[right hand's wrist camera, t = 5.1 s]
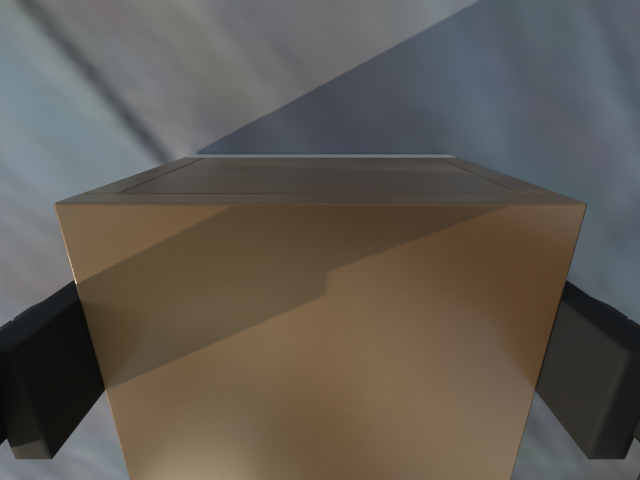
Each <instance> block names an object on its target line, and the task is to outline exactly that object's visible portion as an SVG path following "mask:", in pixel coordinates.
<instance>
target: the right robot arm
mask: <svg viewBox="0 0 640 480" xmlns="http://www.w3.org/2000/svg"><path fill="white" fill-rule="evenodd" d="M104 391H105V388H104V384H103V381H102V377H101V374H100V370H99V367H98V363H97V359H96V356H95V352H94V349H93V345H92V341H91V338H90V334H89V331H88V327H87V323H86V320H85V316H84V313H83V309H82V305H81V302H80V298H79V295H78V291H77V287H76V284H75V280H73V281H72V282H71V283H69V284H68V285H66V286H65V287H63V288H62V289H60V290H59V291H57V292H56V293H55V294H53V295H52V296H50V297H49V298H47V299H46V300H44V301H43V302H40V303H38V304H36V305H34V306H31V307H30V308H28V309H27V310H25V311H24V312H22V313H21V314H19V315H18V316H16V317H15V318H13V321H9V322H7V323H6V324H5V325H3V326H2V327H0V445H1V444H2V443H3V442H4V441H5V440H6V439H7V440H8V442H9V444H10V447H11V449H12V451H13V454H14V456H15V458H16V459H52V458H53V457H54V456H55V454H56V453H57V452H58V451H59V449H60V448H61V447H62V445H63V444H64V443H65V441H66V440H67V439H68V438H69V436H70V435H71V434H72V432H73V431H74V430H75V428H76V427H77V426H78V425H79V423H80V422H81V421H82V419H83V418H84V417H85V415H86V414H87V413H88V412H89V410H90V409H91V408H92V406H93V405H94V404H95V402H96V401H97V400H98V399H99V397H100V396H101V395H102V393H103V392H104ZM536 392H537V393H538V394H539V395H540V397H541V398H542V399H543V401H544V402H545V403H546V405H547V406H548V407H549V408H550V410H551V411H552V412H553V414H554V415H555V416H556V418H557V419H558V420H559V421H560V423H561V424H562V425H563V427H564V428H565V429H566V431H567V432H568V433H569V434H570V436H571V437H572V438H573V440H574V441H575V442H576V444H577V445H578V446H579V447H580V449H581V450H582V451H583V453H584V454H585V455H586V457H587V458H588V459H625V457H626V455H627V453H628V450H629V448H630V446H631V443H632V441H633V439H634V437H635V438H636V439H637V440H638V441H639V442H640V325H639V324H637V323H636V322H634V321H633V320H631V319H628V317H627V316H625V315H624V314H622V313H621V312H619V311H618V310H616V309H615V308H613V307H612V306H610V305H608V304H606V303H603V302H601V301H599V300H597V299H594V298H592V297H590V296H589V295H587V294H586V293H584V292H583V291H582V290H580V289H579V288H577V287H576V286H574V285H573V284H571V283H570V282H568V281H567V280H566V282H565V286H564V290H563V293H562V297H561V300H560V304H559V308H558V311H557V315H556V318H555V322H554V326H553V329H552V333H551V336H550V340H549V343H548V347H547V351H546V354H545V358H544V361H543V365H542V369H541V372H540V376H539V379H538V383H537V387H536ZM637 480H640V474H639V476H638V478H637Z"/></svg>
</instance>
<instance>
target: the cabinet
mask: <svg viewBox="0 0 640 480" xmlns="http://www.w3.org/2000/svg"><path fill="white" fill-rule="evenodd" d="M586 207H587V204H586V203H584V202H582V201H579V200H576V199H573V198H570V197H567V196H564V195H562V194H558V193H556V192H553V191H550V190H547V189H544V188H541V187H538V186H536V185H533V184H530V183H527V182H524V181H521V180H518V179H516V178H513V177H510V176H507V175H504V174H501V173H498V172H496V171H493V170H490V169H487V168H484V167H481V166H478V165H476V164H473V163H470V162H467V161H464V160H461V159H458V157H455V156H452V155H450V154H191V155H188V156H185V157H183V158H182V159H179V160H176V161H174V162H171V163H168V164H165V165H162V166H159V167H156V168H154V169H151V170H148V171H145V172H142V173H139V174H136V175H134V176H131V177H128V178H125V179H122V180H119V181H116V182H114V183H111V184H108V185H105V186H102V187H99V188H97V189H94V190H91V191H88V192H85V193H83V194H79V195H76V196H73V197H70V198H68V199H65V200H62V201H59V202H56V203H55V204H54V208H55V212H56V216H57V219H58V223H59V226H60V230H61V234H62V237H63V241H64V244H65V248H66V252H67V255H68V259H69V262H70V266H71V269H72V273H73V277H74V280H75V284H76V287H77V291H78V295H79V298H80V302H81V305H82V309H83V313H84V316H85V320H86V323H87V327H88V331H89V334H90V338H91V341H92V345H93V349H94V352H95V356H96V359H97V363H98V367H99V370H100V374H101V377H102V381H103V384H104V388H105V392H106V395H107V399H108V402H109V406H110V410H111V413H112V417H113V420H114V424H115V428H116V431H117V435H118V438H119V442H120V446H121V449H122V453H123V456H124V460H125V464H126V467H127V471H128V474H129V478H130V480H511V476H512V473H513V469H514V465H515V462H516V458H517V455H518V451H519V448H520V444H521V440H522V437H523V433H524V430H525V426H526V422H527V419H528V415H529V412H530V408H531V404H532V401H533V397H534V394H535V390H536V387H537V383H538V379H539V376H540V372H541V369H542V365H543V361H544V358H545V354H546V351H547V347H548V343H549V340H550V336H551V333H552V329H553V326H554V322H555V318H556V315H557V311H558V308H559V304H560V300H561V297H562V293H563V290H564V286H565V282H566V279H567V275H568V272H569V268H570V265H571V261H572V257H573V254H574V250H575V247H576V243H577V239H578V236H579V232H580V229H581V225H582V221H583V218H584V214H585V211H586Z"/></svg>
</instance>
